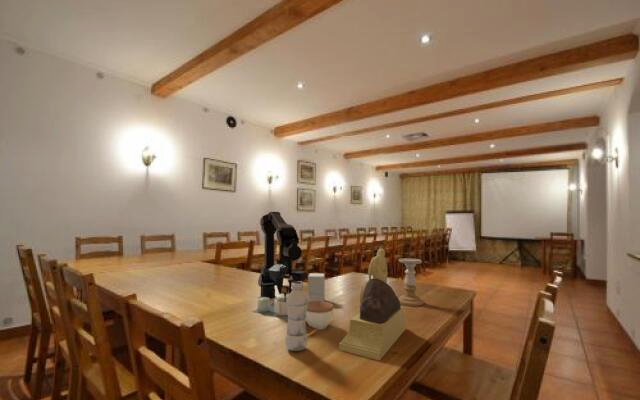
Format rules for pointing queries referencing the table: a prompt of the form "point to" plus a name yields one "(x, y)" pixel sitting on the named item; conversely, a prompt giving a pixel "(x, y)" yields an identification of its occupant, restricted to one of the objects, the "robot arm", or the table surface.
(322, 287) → the supplement box
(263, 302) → the sage green dome
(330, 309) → the lidded jar
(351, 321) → the statue with dark rock
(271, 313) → the slate tray
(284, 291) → the coffee tamper
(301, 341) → the plastic bottle
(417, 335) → the table surface
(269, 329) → the table surface
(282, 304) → the octagonal white frame
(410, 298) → the candle holder
